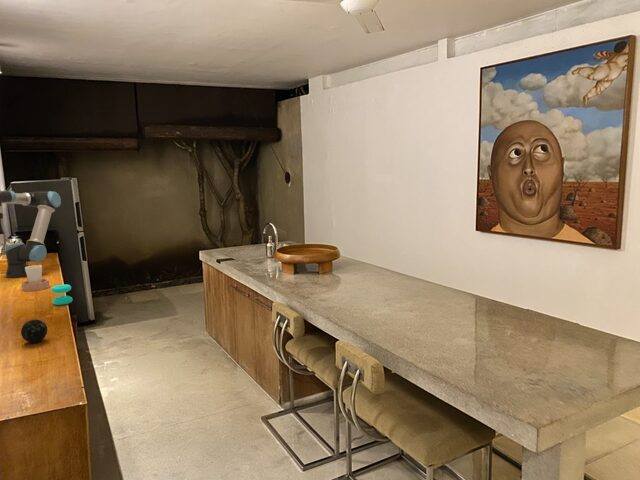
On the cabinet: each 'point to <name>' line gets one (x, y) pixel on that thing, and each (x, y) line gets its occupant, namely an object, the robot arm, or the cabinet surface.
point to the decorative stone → (34, 331)
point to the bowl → (35, 285)
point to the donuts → (62, 299)
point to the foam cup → (34, 274)
